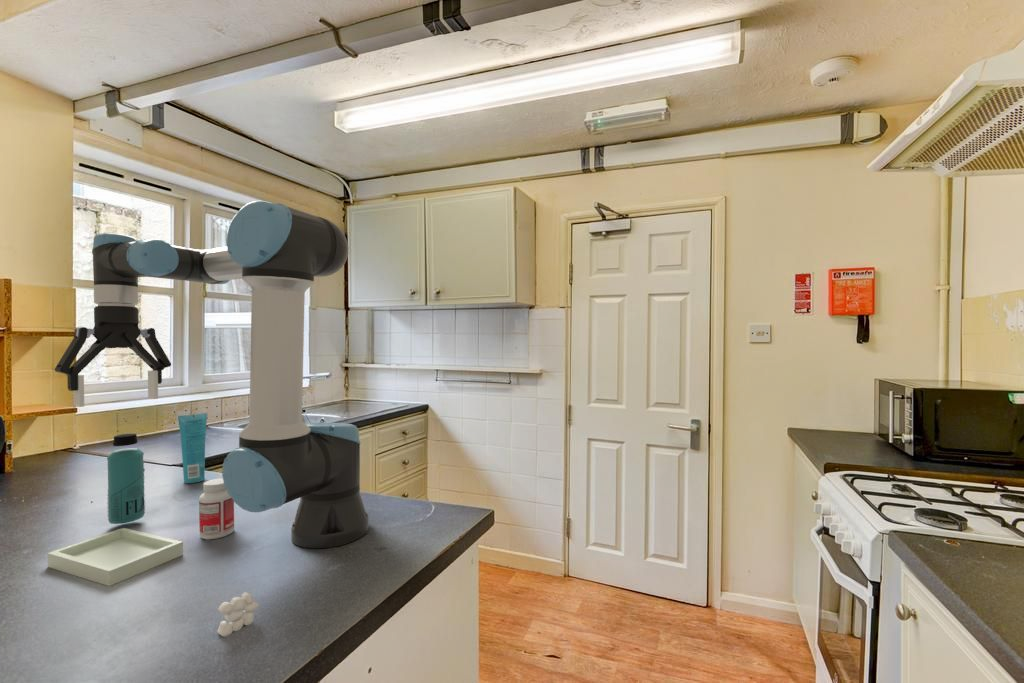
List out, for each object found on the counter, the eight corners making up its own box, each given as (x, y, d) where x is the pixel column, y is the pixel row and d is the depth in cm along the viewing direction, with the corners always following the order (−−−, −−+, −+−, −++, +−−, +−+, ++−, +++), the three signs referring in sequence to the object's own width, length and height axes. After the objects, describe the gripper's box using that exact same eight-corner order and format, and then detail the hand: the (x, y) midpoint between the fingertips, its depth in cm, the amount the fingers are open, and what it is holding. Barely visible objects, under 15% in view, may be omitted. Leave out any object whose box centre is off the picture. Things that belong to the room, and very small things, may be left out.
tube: (202, 476, 139) (201, 411, 139) (212, 478, 137) (211, 412, 137) (175, 483, 133) (174, 415, 133) (184, 485, 131) (184, 416, 130)
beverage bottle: (124, 532, 100) (122, 438, 99) (98, 530, 101) (97, 436, 101) (153, 520, 106) (152, 431, 106) (129, 518, 107) (128, 430, 107)
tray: (183, 554, 89) (182, 541, 89) (109, 586, 78) (109, 571, 78) (123, 540, 96) (123, 527, 96) (47, 566, 85) (47, 553, 85)
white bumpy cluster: (221, 638, 64) (223, 605, 65) (216, 635, 65) (218, 602, 65) (257, 623, 68) (259, 591, 69) (252, 619, 69) (254, 588, 70)
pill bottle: (229, 525, 103) (228, 475, 103) (238, 533, 99) (237, 481, 99) (195, 534, 98) (195, 481, 98) (204, 543, 94) (203, 488, 94)
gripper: (169, 309, 117) (170, 394, 117) (32, 303, 94) (34, 408, 95) (186, 308, 113) (188, 396, 113) (48, 301, 91) (50, 411, 91)
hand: (118, 402), depth 104 cm, fingers open, 13 cm apart
